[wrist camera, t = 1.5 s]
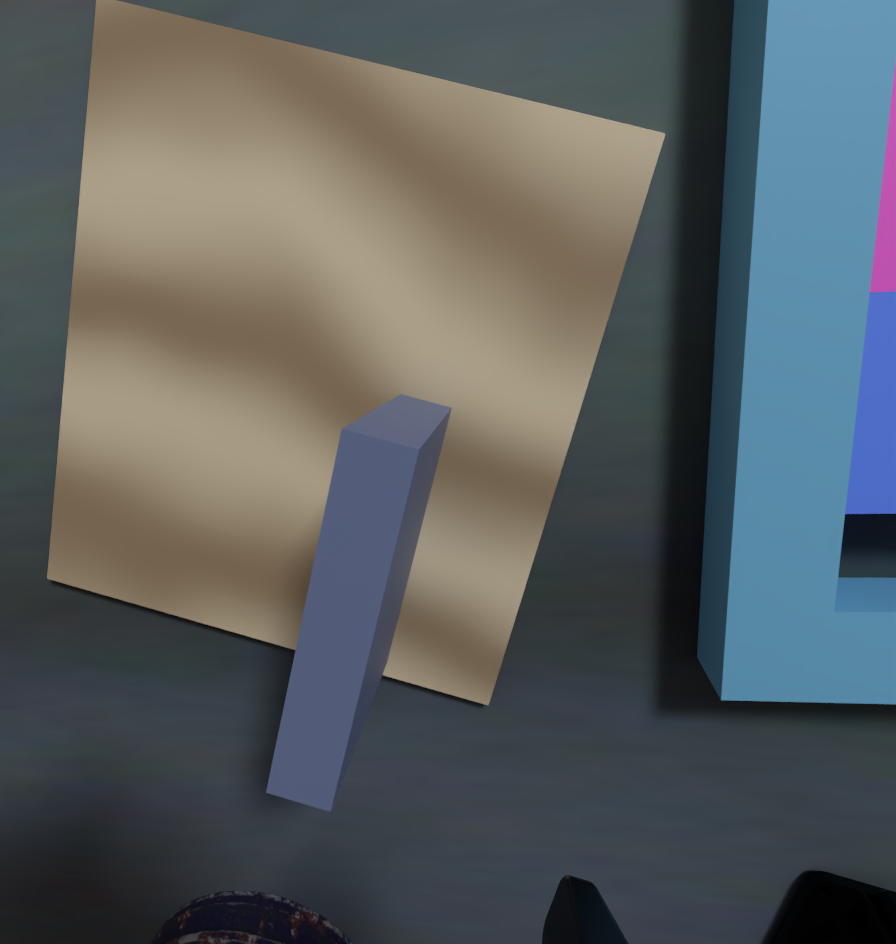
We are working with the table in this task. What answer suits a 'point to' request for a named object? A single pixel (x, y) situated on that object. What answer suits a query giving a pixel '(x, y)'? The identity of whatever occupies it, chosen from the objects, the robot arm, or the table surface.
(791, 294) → the tetris game
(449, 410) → the card deck
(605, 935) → the robot arm
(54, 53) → the table surface
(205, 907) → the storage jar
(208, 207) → the wooden mat
